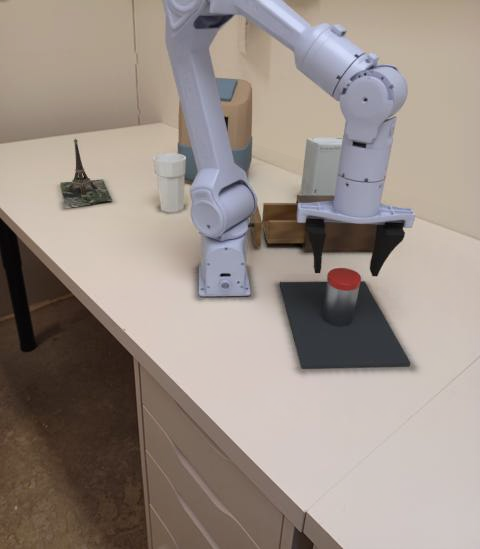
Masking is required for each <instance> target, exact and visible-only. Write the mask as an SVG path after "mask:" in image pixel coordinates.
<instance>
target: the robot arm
mask: <svg viewBox="0 0 480 549" xmlns="http://www.w3.org/2000/svg"><path fill="white" fill-rule="evenodd" d="M161 2H162V6H163V10H164V14H165V28H164V29H165V30H164V40H165V46H166V47H165V48H166V51H167V55H168V59H169V62H170V66H171V71H172V74H173V79H174V83H175V86H176V90H177V93H178V94H177V95H178V99H180V102H181V106H182V110H183V114H184V118H185V122H186V126H187V130H188V134H189V138H190V142H191V146H192V150H193V154H194V158H195V162H196V166H197V170H198V173H197V175H196V177H195V179H194V181H193V183H191V185H190V187H189V195H190V200H191V205H190V206H191V207H190V218H191V221H192V223H193V225H194V227H195V229H196V230H197V231H198V234H199V235H200V249H201V250H200V259H201V260H200V262H201V263H200V264H199V265H198V296H199V297H249V296H251V293H252V292H251V286H250V280H249V275H248V267H247V251H248V230H249V229H248V228H249V227H248V225H249V219H250V217H251V216H252V215H253V214H254V213H255V211H256V209H257V205H258V197H257V194H256V192H255V190H254V188H253V187H252V185H251V184H250V182H249V179H248V176H247V173H246V172H245V171H244V170H243V169H242V168H240V167H239V166H237V165H236V164H235V163H234V159H233V155H232V150H231V146H230V141H229V137H228V132H227V128H226V123H225V119H224V114H223V110H222V105H221V101H220V97H219V92H218V88H217V83H216V79H215V78H216V75H215V70H214V66H213V61H212V57H211V52H210V47H211V46H212V43H213V41H214V40H215V38H216V36H217V35H218V32H220V30H222V29H223V28H224V27H225V26H226V25H227V24H228V23H229V22H230V21H231V20H232V19H233V18H234V17H235V16H242V17H243V18H245V19H246V20H248V21H249V22H251V23H252V24H254V25H255V26H257V28H259V29H260V30H262V31H263V32H265V33H266V34H267V35H269V36H270V37H272V38H273V39H275V40H276V41H277V42H279V43H280V44H282V45H283V46H285V47H286V48H288V49H289V50H290V51H291V52H292V53H293V56H294V65H295V68H296V69H297V71H299V72H300V73H302V74H303V75H304V76H305V77H306V78H308V80H310V81H311V82H312V83H313V84H314V85H316V86H317V87H318V88H320V89H321V90H322V91H324V92H325V93H326V94H327V95H329V96H330V97H331V98H332V99H334V100H335V101H337V102H339V108H340V111H341V114H342V115H343V117H344V120H345V123H344V130H343V134H342V139H343V140H342V147H341V154H340V161H339V168H338V175H337V182H336V189H335V196H334V201H325V202H314V203H298V207H297V222H299V223H305V226H306V231H307V234H308V237H309V240H310V243H311V246H312V249H313V252H312V254H313V270H314V271H313V272H314V274H321V271H322V262H323V261H322V260H323V253H324V252H323V246H324V242H325V238H326V232H325V224H324V222H341V223H355V224H377V228H376V237H375V245H374V249H373V252H371V253H372V254H371V258H370V262H369V271H370V274H371V276H372V277H378V276H379V274H380V272H381V269H382V267H383V265H384V264H385V262H386V261H387V259H388V257H389V256H390V255H391V253H392V252H393V251H395V249H396V247H398V246H399V244H401V243H402V242H403V241H404V238H405V235H406V232H405V230H404V228H405V229H413V226H414V222H415V218H416V213H415V212H414V210H413V209H412V208H411V207H400V206H395V205H388V204H382V203H381V202H382V197H383V192H384V187H385V182H386V178H387V172H388V167H389V162H390V157H391V152H392V148H393V147H392V146H393V142H394V133H395V127H396V122H397V116H396V114H397V113H398V112H400V110H401V109H402V108H403V106H404V105H405V103H406V100H407V99H408V92H409V91H408V90H409V88H408V87H409V86H408V83H407V80H406V78H405V76H404V74H402V73H401V72H400V71H399V69H398V67H397V66H396V65H393V64H389V63H382V64H378V61H379V60H380V57H379V56H378V55H377V54H376V53H374V52H369V53H367V52H366V51H364V50H363V49H362V48H361V47H359V46H358V45H357V44H355V43H354V42H353V41H352V40H350V39H349V38H347V37H346V36H345V35H346V33H347V32H348V30H347V29H346V28H345V27H344V26H343V25H341V24H339V23H338V24H332V25H330V23H327V22H323V23H320V24H319V23H318V24H317V25H313V26H312V25H311V24H310V23H309V22H308V21H307V20H306V19H304V18H303V17H302V16H301V15H300V14H299V13H297V12H296V11H295V10H294V9H293V8H292V7H291V6H289V5H288V4H287V3H286V2H285V1H283V0H161Z"/></svg>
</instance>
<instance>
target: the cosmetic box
mask: <svg viewBox="0 0 480 549" xmlns="http://www.w3.org/2000/svg"><path fill="white" fill-rule="evenodd" d="M342 140H343V137H307V138H306V142H305V151H304V160H303V168H302V177H301V185H300V193H299V195H332V196H335V189H336V182H337V175H338V168H339V161H340V154H341V147H342Z"/></svg>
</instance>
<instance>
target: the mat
mask: <svg viewBox="0 0 480 549" xmlns="http://www.w3.org/2000/svg"><path fill="white" fill-rule="evenodd" d="M326 286H327V281H279V288H280V292H281V295H282V299H283V303H284V307H285V311H286V314H287V317H288V322H289V325H290V329H291V333H292V336H293V341H294V343H295V347H296V351H297V355H298V359H299V362H300V367H301V369H305V370H306V369H307V370H308V369H309V370H310V369H344V368H345V369H346V368H391V367H392V368H393V367H395V368H396V367H410V366H411V361H410V359H409V358H408V356H407V354H406V352H405V350H404V348H403V347H402V345H401V343H400V341H399V340H398V338H397V336H396V334H395V333H394V331H393V329H392V327H391V326H390V324H389V322H388V320H387V318H386V317H385V315H384V313H383V311H382V310H381V308H380V306H379V304H378V303H377V301H376V299H375V297H374V295H373V294H372V292H371V290H370V289H369V286H368V285H367V284H366V281H365V280H361V282H360V286H359V291H358V296H357V301H356V307H355V312H354V317H353V321H352V323H351V324H349V325H347V326H334V325H331V324H329V323H327V322H326V321H325V320H324V319H323V317H322V313H323V306H324V299H325V293H326Z"/></svg>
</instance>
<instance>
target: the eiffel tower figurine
mask: <svg viewBox="0 0 480 549" xmlns="http://www.w3.org/2000/svg"><path fill="white" fill-rule="evenodd" d="M73 143H74V152H75V154H74V155H75V169H74V171H75V172H74V176H73V179H72V180H71V181H62V182H60V189H61V193H62V197H63V204H64V209H73V208H78V207H84V206H89V205H94V204H98V203H103V202H109V201H113V198H112V196H111V194H110V192H109V190H108V187H107V185H106V184H105V181H104V179H92V180H91V178H90V177H88V175H87V173H86V171H85V168H84V166H83V162H82V159H81V155H80V150H79V146H78V145H79V144H78V143H79V142H78V139H77V138H74V140H73Z"/></svg>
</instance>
